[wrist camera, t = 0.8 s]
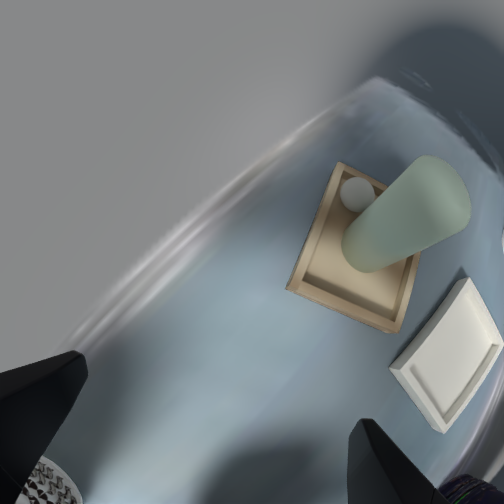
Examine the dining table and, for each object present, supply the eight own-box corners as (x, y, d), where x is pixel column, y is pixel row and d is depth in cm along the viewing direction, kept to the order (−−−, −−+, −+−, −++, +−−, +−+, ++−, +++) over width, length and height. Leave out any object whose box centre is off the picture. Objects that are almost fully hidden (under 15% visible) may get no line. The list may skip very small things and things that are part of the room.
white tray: (432, 429, 20) (444, 433, 18) (388, 367, 21) (399, 370, 19) (492, 344, 22) (504, 344, 20) (457, 280, 24) (469, 276, 22)
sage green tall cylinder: (396, 259, 23) (481, 216, 12) (356, 282, 22) (439, 246, 12) (372, 214, 24) (442, 148, 13) (331, 232, 23) (395, 165, 12)
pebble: (371, 210, 24) (386, 197, 21) (346, 222, 23) (359, 209, 21) (355, 182, 25) (368, 166, 22) (329, 192, 24) (340, 176, 21)
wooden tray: (387, 333, 22) (398, 333, 20) (285, 288, 23) (289, 285, 21) (417, 217, 25) (428, 210, 23) (332, 172, 26) (338, 160, 24)
